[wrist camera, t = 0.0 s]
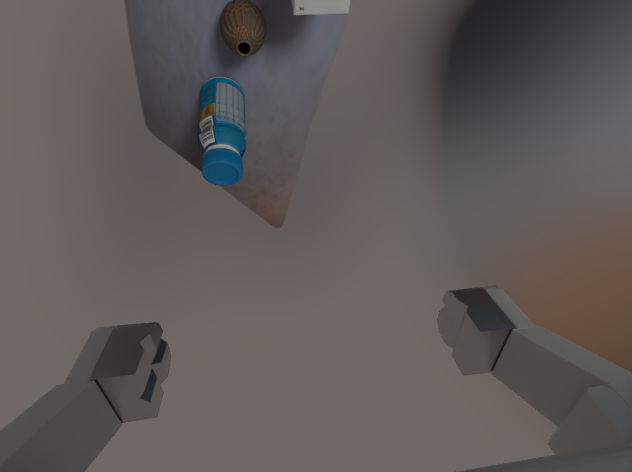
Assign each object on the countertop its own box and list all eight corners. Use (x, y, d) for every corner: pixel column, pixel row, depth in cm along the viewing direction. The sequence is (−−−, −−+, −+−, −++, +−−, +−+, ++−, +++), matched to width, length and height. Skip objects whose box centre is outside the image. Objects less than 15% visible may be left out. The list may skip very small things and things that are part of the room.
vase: (231, 41, 56) (231, 75, 52) (212, -3, 50) (211, 32, 46) (270, 30, 56) (273, 64, 51) (256, -16, 49) (258, 19, 45)
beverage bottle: (244, 75, 62) (247, 157, 53) (245, 111, 69) (248, 189, 60) (196, 72, 61) (191, 157, 51) (203, 110, 68) (200, 190, 59)
